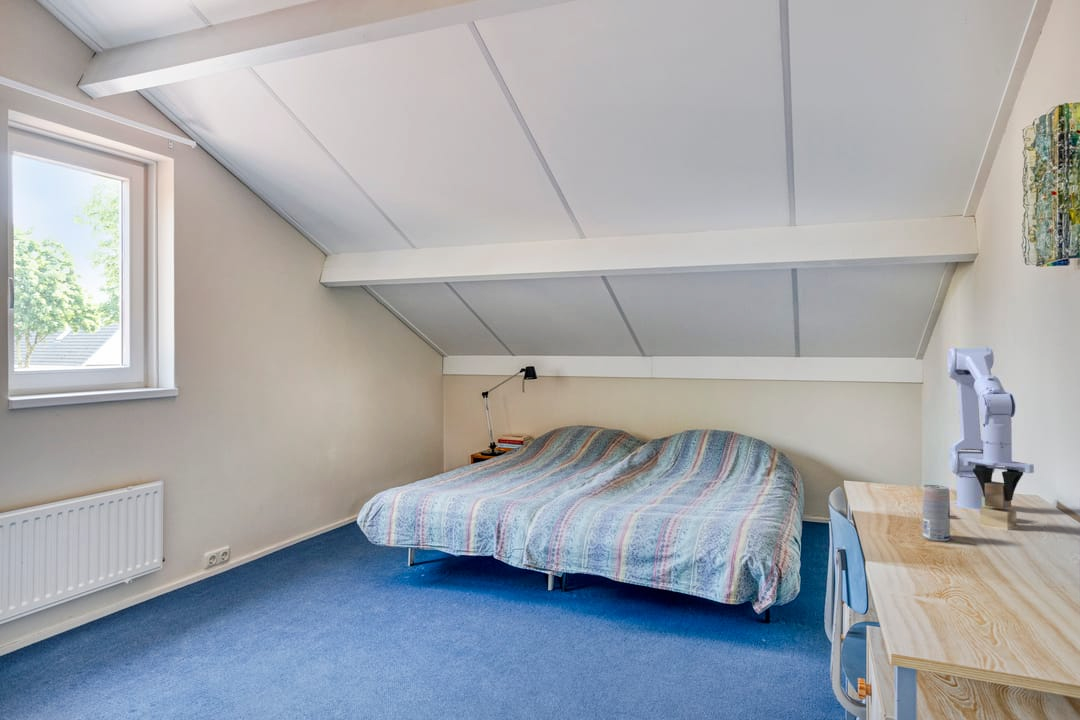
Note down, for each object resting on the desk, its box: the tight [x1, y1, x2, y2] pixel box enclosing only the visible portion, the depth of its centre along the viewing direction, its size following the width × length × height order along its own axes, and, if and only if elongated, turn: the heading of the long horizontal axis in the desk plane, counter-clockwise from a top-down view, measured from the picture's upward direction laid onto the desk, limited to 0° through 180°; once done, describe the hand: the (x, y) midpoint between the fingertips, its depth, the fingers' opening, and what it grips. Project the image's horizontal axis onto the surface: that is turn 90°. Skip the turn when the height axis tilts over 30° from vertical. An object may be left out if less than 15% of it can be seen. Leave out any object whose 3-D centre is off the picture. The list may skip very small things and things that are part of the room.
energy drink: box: [922, 484, 951, 543], centre depth 153 cm, size 5×5×12 cm
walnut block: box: [985, 480, 1012, 509], centre depth 161 cm, size 4×4×6 cm
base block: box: [979, 506, 1018, 531], centre depth 161 cm, size 4×6×4 cm
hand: (997, 498), depth 161 cm, fingers closed on walnut block, 4 cm apart
